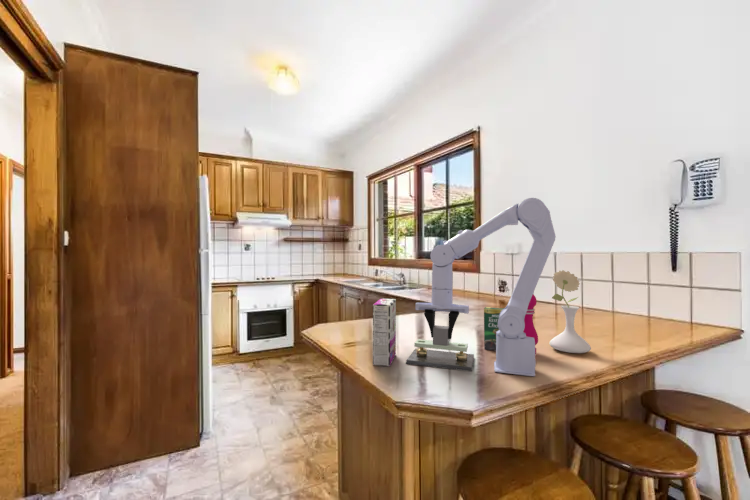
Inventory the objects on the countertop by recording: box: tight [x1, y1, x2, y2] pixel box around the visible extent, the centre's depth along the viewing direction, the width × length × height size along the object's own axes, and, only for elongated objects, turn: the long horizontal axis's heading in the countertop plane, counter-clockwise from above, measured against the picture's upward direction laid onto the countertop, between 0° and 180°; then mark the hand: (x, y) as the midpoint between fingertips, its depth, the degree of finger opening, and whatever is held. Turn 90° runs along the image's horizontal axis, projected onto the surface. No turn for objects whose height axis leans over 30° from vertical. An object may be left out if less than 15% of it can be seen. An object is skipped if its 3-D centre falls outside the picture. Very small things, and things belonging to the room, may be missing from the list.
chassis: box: [405, 347, 475, 372], centre depth 98 cm, size 17×12×4 cm
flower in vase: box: [549, 269, 592, 354], centre depth 110 cm, size 13×11×25 cm
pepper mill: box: [523, 294, 539, 356], centre depth 107 cm, size 7×7×20 cm
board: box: [413, 325, 469, 353], centre depth 98 cm, size 14×5×6 cm, turn 72°
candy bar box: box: [372, 298, 397, 367], centre depth 98 cm, size 11×5×16 cm, turn 168°
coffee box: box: [483, 306, 505, 352], centre depth 109 cm, size 8×3×13 cm, turn 61°
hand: (441, 337), depth 98 cm, fingers closed on board, 4 cm apart
